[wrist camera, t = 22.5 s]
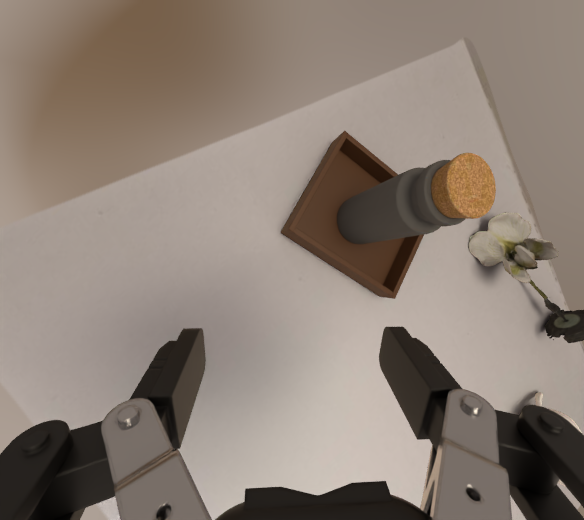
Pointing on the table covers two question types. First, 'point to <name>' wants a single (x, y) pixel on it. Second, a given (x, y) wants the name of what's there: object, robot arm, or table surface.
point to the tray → (323, 219)
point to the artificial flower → (524, 265)
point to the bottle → (419, 201)
